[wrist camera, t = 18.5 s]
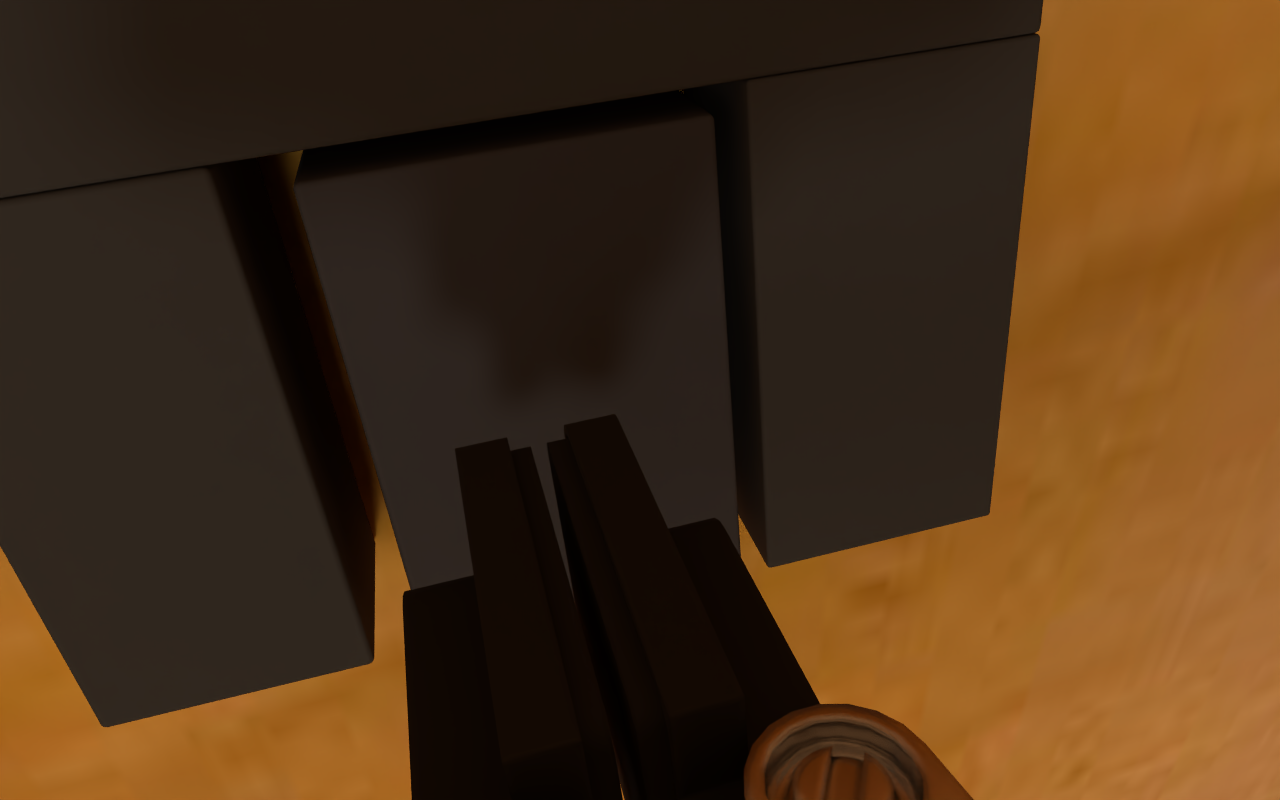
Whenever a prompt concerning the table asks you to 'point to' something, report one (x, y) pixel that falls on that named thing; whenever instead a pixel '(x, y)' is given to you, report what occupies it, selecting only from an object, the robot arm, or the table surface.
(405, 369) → the loose pad
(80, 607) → the base pad
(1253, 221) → the table surface
